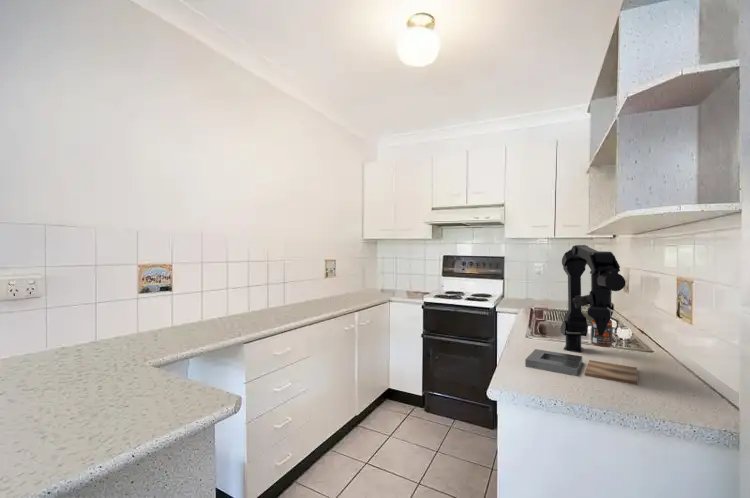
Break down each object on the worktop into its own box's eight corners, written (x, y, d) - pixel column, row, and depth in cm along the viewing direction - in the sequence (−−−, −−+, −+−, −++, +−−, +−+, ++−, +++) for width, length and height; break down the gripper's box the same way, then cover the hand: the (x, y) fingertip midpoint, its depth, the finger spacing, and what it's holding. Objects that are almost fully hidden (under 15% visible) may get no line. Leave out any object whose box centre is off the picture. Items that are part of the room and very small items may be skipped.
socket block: (535, 355, 135) (535, 349, 136) (582, 363, 126) (582, 356, 126) (525, 366, 123) (525, 359, 123) (576, 375, 113) (576, 368, 113)
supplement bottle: (595, 347, 115) (595, 313, 115) (588, 342, 120) (588, 310, 121) (615, 348, 113) (615, 314, 113) (607, 343, 119) (607, 311, 119)
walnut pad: (589, 362, 126) (589, 359, 126) (636, 370, 118) (636, 367, 118) (584, 375, 113) (584, 372, 113) (637, 385, 105) (637, 381, 105)
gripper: (578, 284, 129) (578, 325, 129) (569, 289, 115) (570, 335, 115) (613, 286, 122) (614, 329, 122) (609, 291, 108) (610, 340, 108)
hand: (601, 333), depth 117 cm, fingers closed on supplement bottle, 6 cm apart
